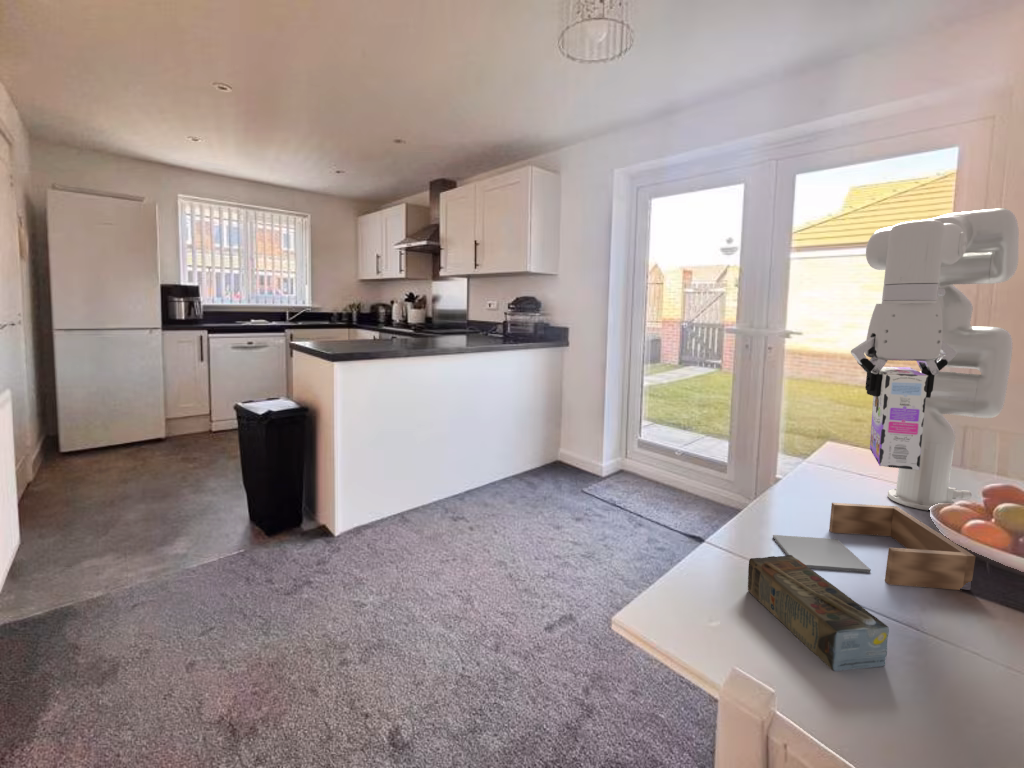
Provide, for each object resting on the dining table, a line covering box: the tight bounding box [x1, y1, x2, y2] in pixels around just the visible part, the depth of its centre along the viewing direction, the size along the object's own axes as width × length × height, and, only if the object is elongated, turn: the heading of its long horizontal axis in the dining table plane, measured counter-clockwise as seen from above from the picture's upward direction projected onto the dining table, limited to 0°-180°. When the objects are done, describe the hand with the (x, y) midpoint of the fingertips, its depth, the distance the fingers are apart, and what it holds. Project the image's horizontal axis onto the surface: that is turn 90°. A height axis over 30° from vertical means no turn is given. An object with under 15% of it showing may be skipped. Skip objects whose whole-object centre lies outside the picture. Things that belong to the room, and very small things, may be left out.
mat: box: [772, 534, 872, 574], centre depth 95 cm, size 12×12×1 cm
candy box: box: [869, 366, 928, 470], centre depth 91 cm, size 14×6×16 cm, turn 151°
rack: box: [828, 502, 976, 591], centre depth 93 cm, size 12×21×6 cm, turn 171°
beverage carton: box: [747, 554, 890, 672], centre depth 73 cm, size 8×19×7 cm, turn 7°
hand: (897, 395), depth 90 cm, fingers closed on candy box, 7 cm apart
